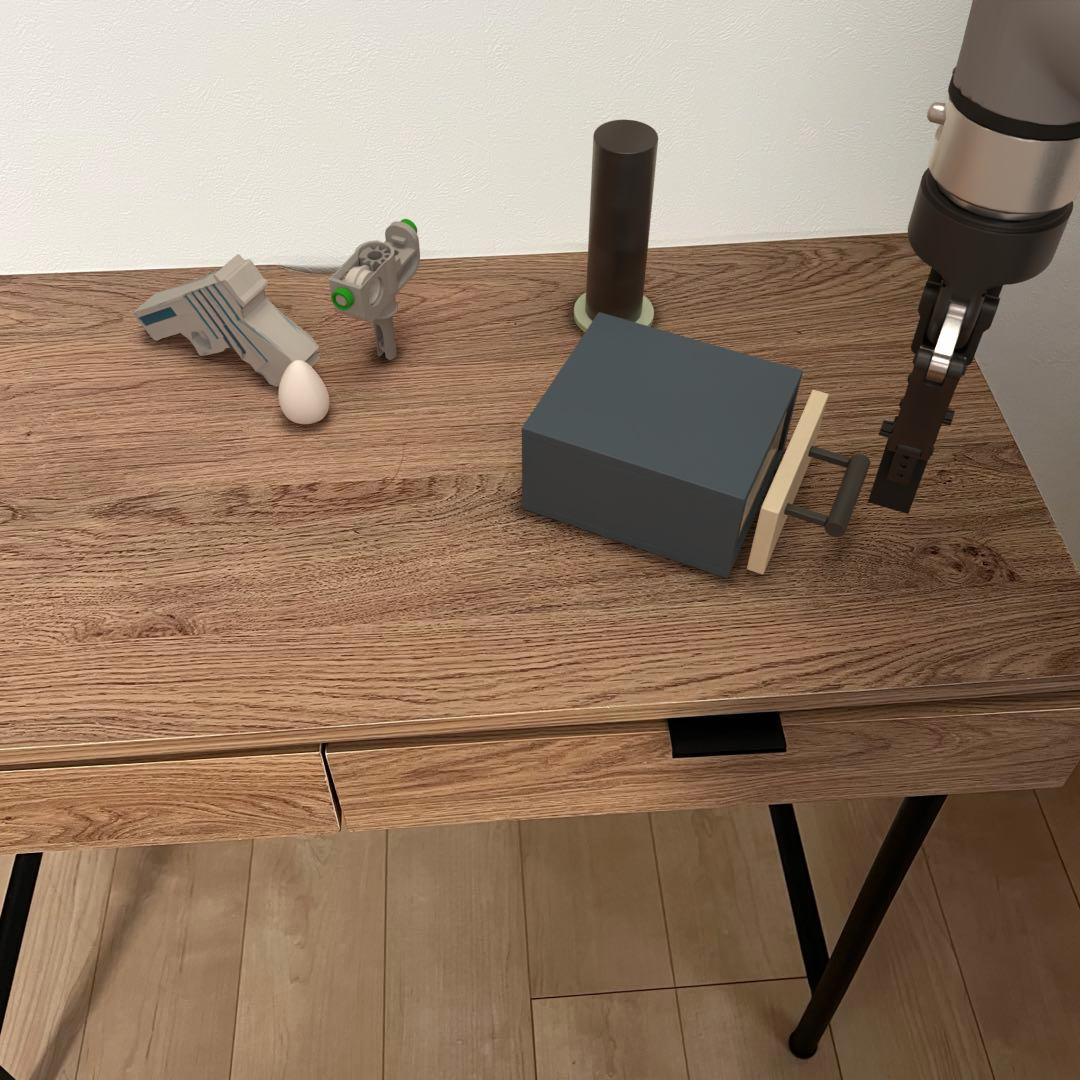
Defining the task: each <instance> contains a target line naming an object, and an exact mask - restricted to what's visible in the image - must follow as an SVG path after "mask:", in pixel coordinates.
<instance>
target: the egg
mask: <svg viewBox="0 0 1080 1080" xmlns="http://www.w3.org/2000/svg"><path fill="white" fill-rule="evenodd" d="M277 394H278V395H277V396H278V403H279V407H280V409H281V411H282V413H283V415H284V416H285V417H286V418H287V419H288V420H289V421H291V422H293V423H295V424H299V425H310V424H315V423H319V422H320V421H322V420H323V419H324V418H325V417H326V415H328V412H329V410H330V406H331V405H330V404H331V403H330V394H329V391H328V389H327V387H326V384H325V382H324V381H323V380H322V378H321V376H320V375H319V373H318V372H317V371H316V370H315V368H313V366H312V367H311V366H310V365H309V364H308V363H306V362H304V361H302V360H295V361H293V362H292V363H291V364H290V365H289V366H288V367H287V369H286V370H285V372H284V374H283V376H282V379H281V381H280V385H279V386H278V392H277Z"/></svg>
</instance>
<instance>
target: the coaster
mask: <svg viewBox="0 0 1080 1080" xmlns="http://www.w3.org/2000/svg"><path fill="white" fill-rule="evenodd" d="M585 304H586V291H585V292H584V293H582V294H581V295H580V296H579V297H578V298H577V299H576V301H575V303H574V306H573V319H574V322H575V325H577V327H578V328H579V329H580V330H581V331H582V332H583V333H585V332H586V330H587V329H588V327H589V326H590V324H591V323H592V320H591V319H590V318H589V317H588V316H587V314H586V311H585ZM654 317H655V307H654V306H653V303H652V301H650V299H649V298H648V297H646V295H644V294H643V305H642V313H641V316H640V317H639V319H638V320H637V321H636V323H639V324H643V325H646V326H650V327H652V325H653V323H654V319H655V318H654Z"/></svg>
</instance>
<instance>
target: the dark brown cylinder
mask: <svg viewBox="0 0 1080 1080" xmlns="http://www.w3.org/2000/svg"><path fill="white" fill-rule="evenodd" d="M658 145H659V135H658V132H657V131H656V130H655V128H653V127H652V126H651V125H649V124H647V123H645V122H642V121H638V120H633V119H614V120H609V121H606V122H603V123H602V124H600V125H599V126H598V127H596V128H595V130H594V132H593V136H592V158H591V177H590V198H589V199H590V200H589V220H588V222H589V225H588V242H587V263H586V264H587V265H586V284H585V285H586V286H585V287H586V288H585V292H586V304H585V311H586V314H587V316H588V317H589V318H590V319H591V320H592V321H593V320H594V318H595V317H596V315H597V314H598V312H601V313H604V314H608V315H611V316H615V317H618V318H622V319H625V320H629V321H632V322H636V321H637V320H638V319H639V317H640V316H641V313H642V305H643V295H644V293H645V284H646V283H645V282H646V274H647V273H646V271H647V263H648V262H647V260H648V251H649V240H650V230H651V219H652V209H653V198H654V187H655V178H656V167H657V158H658Z"/></svg>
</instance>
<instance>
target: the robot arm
mask: <svg viewBox="0 0 1080 1080" xmlns="http://www.w3.org/2000/svg"><path fill="white" fill-rule="evenodd" d="M944 98H945V99H944V102H939V101H933V102H932V103H931V104H930V105H929V107H928V109H927V112H926V118H927V120H928V121H929V122H930V123H933V124H937V125H938V127H937V129H936V131H935V133H934V137H933V140H932V144H931V147H930V151H929V155H928V158H927V168H926V169H925V171H924V172H923V174H922V176H921V180H920V183H919V187H918V189H917V192H916V196H915V200H914V203H913V206H912V210H911V214H910V217H909V220H908V225H907V238H908V243H909V244H910V247H911V248H912V251H914V253H915V255H917V257H918V258H919V259H920V260H921V261H922V262H923V263H925V264H926V265H927V266H929V267H931V268H930V271H929V274H928V278H927V280H926V282H925V285H924V289H923V291H922V294H921V297H920V300H919V304H918V307H917V313H918V315H919V319H918V323H917V326H916V328H915V333H914V335H913V339H912V341H911V345H910V351H911V352H912V353H913V355H914V356H913V358H912V362H911V363H912V364H913V367H912V371H911V372H910V373H908V376H907V378H906V382H907V386H906V389H905V393H904V396H903V397H902V398H900V400H899V404H898V407H899V411H898V415H895V417H894V419H893V421H890V420H886V419H883V421H882V423H881V426H880V430H879V432H878V436H880V437H884V438H887V441H886V444H885V447H884V450H883V453H882V456H881V459H880V462H879V465H878V468H877V471H876V475H875V478H874V481H873V484H872V487H871V490H870V493H869V496H868V499H867V503H869V504H872V505H874V506H875V505H876V506H879V507H883V508H886V509H889V510H892V511H896V512H899V513H902V514H906V515H909V514H910V512H911V508H912V505H913V503H914V500H915V498H916V495H917V492H918V489H919V487H920V484H921V482H922V478H923V476H924V473H925V470H926V467H927V464H928V462H929V460H930V459H931V457H933V454H934V451H935V450H936V449H935V446H934V445H936V443H937V439H938V436H939V433H940V430H941V429H942V428H941V427H942V425H945V426H947V427H951V425H952V423H953V419H954V416H955V412H956V410H954V409H952V408H950V407H949V406H950V404H951V402H952V400H953V397H954V394H955V391H956V390H957V387H958V385H959V383H960V380H961V378H963V377H964V376H965V374H966V372H967V368H968V367H969V366H970V365H971V364H972V363H973V361H974V358H975V356H976V352H977V351H978V347H979V345H980V343H981V340H982V337H983V334H984V332H986V331H988V330H989V329H990V328H991V327H992V324H993V321H994V319H995V316H996V313H997V311H998V308H999V304H1000V301H1001V297H1000V295H1001V293H1002V291H1003V290H1002V289H1003V287H1004V286H1007V285H1009V286H1010V285H1015V284H1016V285H1017V284H1020V283H1024V282H1026V281H1029V280H1031V279H1033V278H1035V277H1037V276H1039V275H1040V274H1041V273H1043V272H1045V270H1046V269H1047V268H1048V267H1049V266H1050V264H1051V263H1052V261H1053V259H1054V257H1055V255H1056V253H1057V250H1058V247H1059V245H1060V242H1061V240H1062V237H1063V235H1064V232H1065V230H1066V228H1067V226H1068V223H1069V220H1070V217H1071V215H1072V213H1073V210H1074V201H1076V200H1077V199H1078V197H1079V196H1080V0H972V2H971V6H970V10H969V14H968V18H967V22H966V26H965V30H964V35H963V39H962V43H961V47H960V50H959V54H958V58H957V62H956V65H955V67H953V68H952V75H951V78H950V80H949V83H948V87H947V92H946V96H945V97H944Z"/></svg>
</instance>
